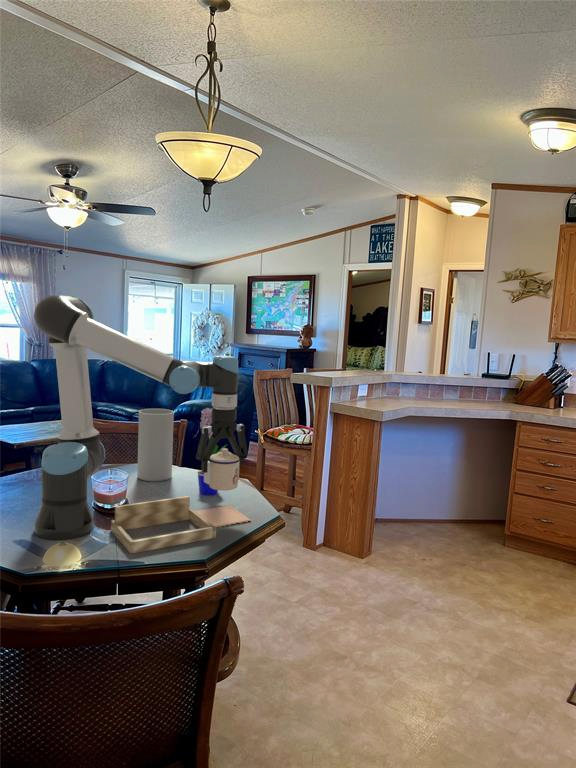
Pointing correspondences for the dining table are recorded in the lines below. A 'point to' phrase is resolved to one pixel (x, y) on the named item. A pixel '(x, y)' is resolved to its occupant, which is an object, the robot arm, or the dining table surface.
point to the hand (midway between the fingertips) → (221, 480)
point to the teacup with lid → (224, 470)
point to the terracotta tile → (223, 516)
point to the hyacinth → (203, 486)
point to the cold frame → (155, 515)
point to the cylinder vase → (155, 444)
